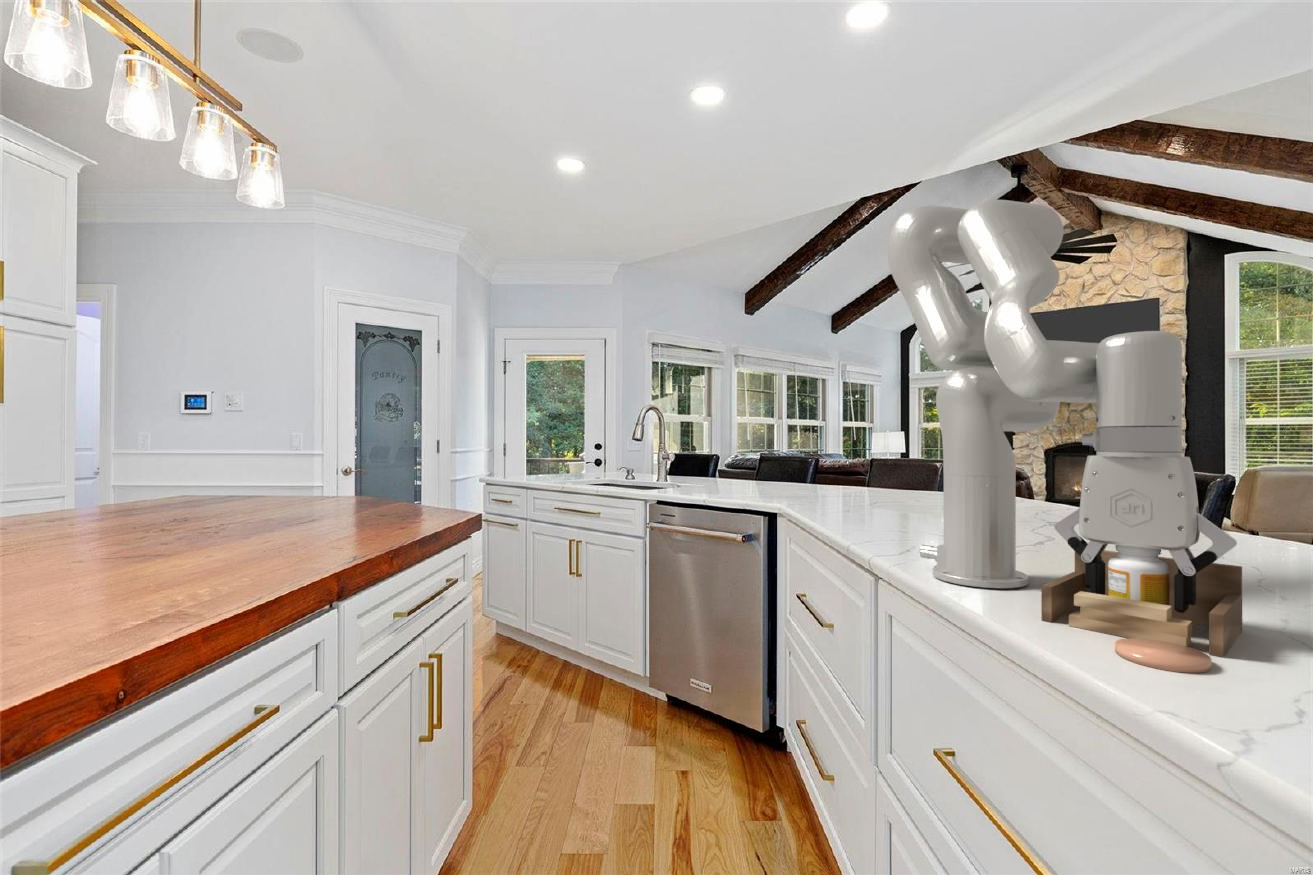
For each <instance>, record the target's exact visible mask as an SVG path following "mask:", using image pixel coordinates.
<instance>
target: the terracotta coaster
mask: <svg viewBox="0 0 1313 875" xmlns="http://www.w3.org/2000/svg"><path fill="white" fill-rule="evenodd" d="M1114 648H1115V649H1114V652H1115V653H1116V655H1118V656H1119V657H1121V658H1123V659H1124V660H1127V661H1128V662H1132V663H1134V664H1137V665H1142V666H1144V667H1148V668H1153V669H1157V670H1161V671H1162V670H1163V671H1168V672H1173V673H1174V672H1177V673H1184V674H1185V673H1187V674H1200V673H1201V674H1202V673H1207V672H1210V671H1211V670H1212V658H1211V656H1210V655H1208V654H1206V653H1205V652H1202V651H1201V650H1198V649H1195V648H1192V647H1190V646H1189V647H1186V646H1182V645H1178V644H1174V643H1169V642H1164V641H1158V640H1150V639H1138V638H1120V639H1118V640H1116V641H1115V643H1114Z"/></svg>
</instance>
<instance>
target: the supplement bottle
mask: <svg viewBox="0 0 1313 875" xmlns="http://www.w3.org/2000/svg"><path fill="white" fill-rule="evenodd" d="M1114 548H1115V551H1116V552H1118V555H1117V556H1113V557H1111V558H1110V559H1109V561H1108V596H1113V597H1119V598H1126V599H1132V600H1138V601H1144V602H1150V603H1156V604H1162V605H1168V606H1169V589H1170V588H1169V587H1170V586H1169V567H1168V565H1167V564H1166V563H1165V562H1163V561H1161V560H1159V558H1158V557H1159V555H1161V554H1162V549H1152V548H1143V547H1134V546H1124V545H1115V544H1114Z"/></svg>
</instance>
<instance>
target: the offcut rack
mask: <svg viewBox="0 0 1313 875" xmlns="http://www.w3.org/2000/svg"><path fill="white" fill-rule="evenodd" d="M1117 555H1118V551H1116V550H1115V551H1113V550H1106V549H1105V550H1104V551H1103V553H1102V554H1101V557H1102V560H1103V561H1104V562H1105V594H1104V595H1101V594H1095V593H1090V589H1089V588H1086V586H1085V562H1084V561H1083V560H1082V559H1081V556H1079V555H1078V554H1077V553H1076V552H1075V551H1074V571H1072V572H1070V573H1068V574H1065V575H1063V576H1061V577H1059V578H1056V579H1054V580H1051V581H1049V582H1047V583H1045V584H1042V585H1041V621H1043V622H1048V623H1053V622H1054V621H1056V620H1058V619H1060V618H1062V617H1063V616H1066V615H1068V614H1069V613H1070V612H1072V613H1070V614H1069V615H1068V626H1069V627H1073V628H1078V629H1082V630H1086V631H1091V632H1092V631H1093V632H1097V633H1101V634H1102V633H1103V634H1107V635H1112V636H1116V637H1122V638H1125V639H1127V638H1138V639H1150V640H1158V641H1164V642H1169V643H1174V644H1178V645H1182V646H1186V647H1189V648H1190V646H1191V645H1192V634H1193V625H1200V626H1205V627H1208V654H1209V656H1216V657H1221V658H1224V657H1225V655H1226V654H1227V653H1228V651H1229V650H1230V649H1231V647H1232V646H1233V644H1234V643H1235V641H1236V640H1237V638H1238V637H1239V635H1240V634H1241V633H1242V632H1243V566H1242V565H1233V564H1226V563H1225V564H1224V563H1215V562H1213V563H1212V564H1210V565H1208V566H1207V567H1205V568H1204V569H1202V570H1200V571H1199V572H1197V573H1196V603H1195V605H1190V604H1189V608H1188V609H1187V610H1186V611H1185V612H1184V613H1180V612H1177V611H1176V610H1174V576H1175V575H1176V574H1177V573H1178V568H1179V567H1178V565H1177V564H1176V562H1175V560H1174V559H1173V557H1167V556H1166V557H1164V556H1158V558H1159V560H1161V561H1163V562H1165V563H1166V564H1167V565H1168V567H1169V586H1170V587H1169V588H1170V589H1169V606H1168V605H1162V604H1156V603H1150V602H1144V601H1138V600H1132V599H1126V598H1119V597H1113V596H1108V561H1109V559H1110V558H1111V557H1113V556H1117ZM1078 608H1079V611H1074V610H1076V609H1078ZM1073 611H1074V612H1073Z"/></svg>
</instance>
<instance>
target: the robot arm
mask: <svg viewBox="0 0 1313 875" xmlns="http://www.w3.org/2000/svg"><path fill="white" fill-rule="evenodd" d="M890 231H891V232H890V235H889V239H888V245H887V247H888V248H887V257H888V258H887V259H888V260H887V261H888V265H889V266H888V267H889V270H890V273H891V276H892V278H893V280H894V282H895V284H896V286H897V288H898V290H899V291H900V293H901V294H902V296H903V298H904V300H905V302H906V304H907V306H908V308H909V310H910V312H911V316H912V319H913V322H914V324H915V326H916V327H915V328H917V332H918V334H919V336H920V339H921V343H922V345H923V347H924V350H925V353H926V354H927V356H928V358H929V360H930V361H931V363H932V364H933V366H935V367H937V368H938V369H941V370H946V371H952V372H951V373H949V374H948V375H946V376H945V377H944V378H943V379H942V380H941V382H940V384H939V385H938V387H937V389H936V396H935V405H936V407H935V408H936V412H937V417H938V418H937V419H938V422H939V426H940V431H941V433H940V434H941V439H942V460H943V461H942V462H943V464H942V465H943V472H942V473H943V544H939V545H937V546H934V545H929V544H921V545H920V547H919V556H920V558H922V559H928V560H929V559H931V560H934V561H935V562H936V565H934V566H933V567H932V568H931V569H932V575H933V577H935V579H938V580H940V581H943V582H944V581H945V582H947V583H951V584H955V585H962V586H968V587H973V588H974V587H975V588H983V589H984V588H986V589H1016V588H1017V589H1018V588H1023V587H1025V586H1027V585H1028V584H1029V576H1028V574H1026V573H1024V572H1022V571H1021V570H1017V568H1016V566H1017V565H1016V562H1017V559H1016V541H1017V540H1016V536H1017V533H1016V532H1017V528H1016V524H1017V523H1016V522H1017V521H1016V520H1017V519H1016V510H1017V508H1016V504H1017V503H1016V502H1017V500H1016V495H1017V494H1016V489H1017V488H1016V486H1017V485H1016V481H1017V480H1016V479H1017V478H1016V470H1017V469H1016V467H1017V466H1016V459H1015V458H1016V457H1015V454H1014V450H1013V448H1012V446H1011V443H1010V442H1009V439H1008V438H1007V436H1006V434H1005V432H1033V431H1038V430H1040V429H1044V428H1045V427H1047V426H1049V425H1050V424H1051V423H1052V422H1053V421H1054V420H1055V419H1056V417H1057V415H1058V413H1059V410H1060V404H1061V403H1068V404H1096V405H1095V408H1096V412H1095V413H1096V420H1095V421H1096V423H1095V424H1096V427H1095V428H1094V430H1093V432H1090V433H1082V435H1081V443H1082V446H1089V447H1093V448H1094V451H1095V452H1096V454H1095V455H1087V456H1086V460H1085V461H1086V462H1085V465H1084V469H1083V470H1084V472H1083V476H1082V482H1081V483H1082V484H1081V491H1080V499H1079V500H1080V503H1079V508H1078V509H1076V510H1075V511H1073V512H1072V513H1070V514H1068V515H1067V516H1065V517H1064V518H1062V519H1061V520H1060V521H1058V522H1057V523H1055V524H1054V529H1055V531H1056V532H1057V533H1058V534H1059V535H1060V536H1061V537H1062V539H1063V540H1065V541H1066V542H1067V545H1068V546H1069V547H1070V548H1071V549H1072V550H1073V551H1074V553H1075V552H1076V553H1077V554H1078V555H1079V556H1081V559H1082V560H1083V561H1084V562H1085V586H1086V588H1089V589H1090V593H1095V594H1101V595H1104V594H1105V562H1104V561H1103V560H1102V557H1101V554H1102V553H1103V551H1104V550H1106V548H1107V546H1108V545H1114V546H1115V545H1124V546H1134V547H1143V548H1152V549H1161V551H1162V550H1164V551H1168V553H1170V556H1171V558H1173V559H1174V560H1175V562H1176V564H1177V565H1178V567H1179V568H1178V573H1177V574H1176V575H1175V576H1174V610H1176V611H1177V612H1180V613H1184V612H1185V611H1186V610H1187V609H1188V608H1189V604H1190V605H1195V603H1196V573H1197V572H1199V571H1200V570H1202V569H1204V568H1205V567H1207V566H1208V565H1210V564H1212V563H1215V562H1216V561H1218V560H1219V559H1220V558H1221V557H1222V556H1223V557H1224V555H1225V554H1227V553H1228V552H1230V551H1231V550H1232V549H1233V548H1235V547H1236V546H1237V544H1238V541H1237V540H1236V539H1235V538H1234V537H1232V536H1231V535H1229V534H1228V533H1227V532H1226V531H1224V530H1222V529H1221V528H1220V527H1218V525H1216V524H1215V523H1213V522H1212V521H1210V520H1208V518H1206V517H1204V516H1203V515H1202V514H1200V510H1199V508H1200V507H1199V499H1198V498H1199V497H1198V491H1197V490H1198V489H1197V482H1196V476H1195V471H1194V468H1193V464H1192V460H1191V458H1190V457H1191V456H1183V427H1182V426H1183V350H1182V349H1183V348H1182V342H1181V340H1180V338H1179V336H1177V335H1176V334H1175V333H1173V332H1171V331H1163V330H1144V331H1142V330H1141V331H1133V332H1131V331H1130V332H1124V333H1118V334H1114V335H1111V336H1108V337H1105V338H1104V339H1101V341H1100V342H1083V341H1072V340H1071V341H1070V340H1054V339H1053V340H1050V339H1048V340H1047V339H1046V337H1045V336H1044V334H1043V333H1042V331H1041V329H1039V326H1038V325H1037V324H1036V322H1035V320H1034V318H1033V317H1032V314H1031V311H1030V309H1031V308H1033V307H1035V306H1036V305H1038V304H1040V303H1041V302H1043V301H1044V300H1045V299H1046V298H1048V297H1049V296H1051V294H1052V293H1053V292H1054V290H1055V289H1056V287H1057V286H1058V284H1059V281H1060V278H1061V277H1060V271H1059V268H1058V267H1057V265H1056V264H1055V262H1054V260H1053V259H1052V258H1051V257H1052V256H1054V254H1055V253H1057V251H1059V248H1060V246H1061V244H1062V241H1063V239H1064V238H1063V237H1064V224H1063V222H1062V219H1061V217H1060V215H1059V214H1058V213H1057V212H1056V211H1055V210H1054V209H1053V208H1051V207H1049V206H1048V205H1043V204H1040V203H1031V202H1023V201H1017V200H1016V201H1015V200H1007V199H991V200H989V199H988V200H986V201H981V202H980V203H977V204H975V205H973V206H971V207H970V208H969V209H967V208H959V207H950V206H942V205H926V206H919V207H914V208H913V207H912V208H911V209H909V210H907V211H905V212H904V213H902V214H901V215H900V216H899V217H898V218H897V219H896V221H895V222H894V224H893V226H892V228H891V230H890ZM943 263H952V264H962V265H964V264H965V265H971V268H972V269H973V271H974V272H975V275H976V276H977V278H978V279H979V281H980V284H981V285H982V287H983V289H984V291H985V293H986V295H987V296H988V298H989V300H990V302H991V304H990V306H989V308H988V311H983V310H981V309H978V308H976V307H975V306H974V305H973V304H972V302H971V301H970V298H969V297H968V295H967V292H966V289H965V288H964V285H963V283H961V281H960V279H959V278H958V277H957V276H956V275H955V274H954V273H953V272H952V271H951V270H949V269H948V268H947V267H946V266H945V265H944V264H943ZM1077 525H1078V529H1079V534H1080V536H1079V535H1078V533H1077V532H1076V531H1075V527H1076V526H1077ZM1200 534H1202V535H1204V536H1205V537H1206V538H1207V539H1209V540H1210V541H1211V542H1212V545H1211V546H1210V547H1208V548H1207V549H1206V550H1204V551H1203V552H1202V553H1200V554H1199V555H1197V556H1195V555H1194V553H1193V552H1192V551H1191V548H1190V547H1192V546H1194V545H1196V544H1197V543H1198V542H1199V540H1200ZM1083 538H1084V539H1083ZM1085 539H1086V540H1088V542H1087V541H1086V540H1085Z"/></svg>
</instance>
